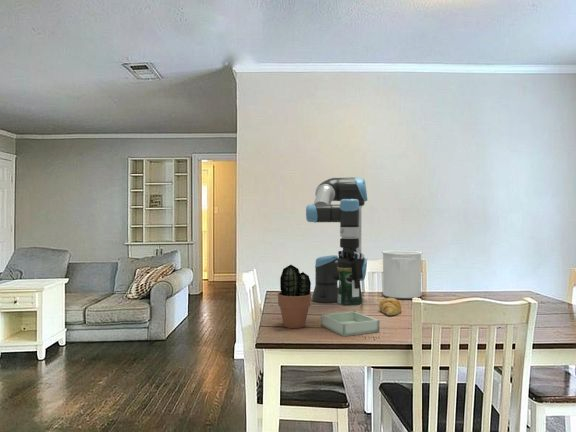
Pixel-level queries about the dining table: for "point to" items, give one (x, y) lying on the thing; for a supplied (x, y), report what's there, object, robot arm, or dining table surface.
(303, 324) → the potted plant
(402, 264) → the bucket
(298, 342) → the dining table surface
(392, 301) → the croissant
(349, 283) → the coffee jar
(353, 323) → the bin
